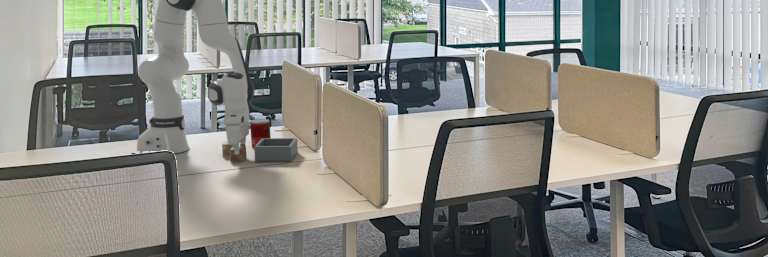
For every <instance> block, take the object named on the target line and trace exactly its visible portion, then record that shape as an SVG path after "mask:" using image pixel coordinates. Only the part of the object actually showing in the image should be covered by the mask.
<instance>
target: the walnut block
mask: <svg viewBox="0 0 768 257" xmlns="http://www.w3.org/2000/svg"><path fill="white" fill-rule="evenodd" d="M239 149H240V154H239V155H235V154H234V149H233V147H232V148H231V149H230V156H229V157H230V158H229V159H230V163H245V161H246V160H247V158H248V157H247V156H248V155H247V146H246V145H245V146H240V145H239Z"/></svg>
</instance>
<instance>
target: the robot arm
mask: <svg viewBox="0 0 768 257" xmlns="http://www.w3.org/2000/svg"><path fill="white" fill-rule="evenodd" d="M190 11H193V12H194V13H195V16H196V21H197V27H198V29H197V30H198V34H199V38H200V40H201V42H202V43H203V44H204V45H206V46H207V47H209V48H211V49H212V50H216V51H220V52H221V53H224V54H226V55H227V57H228V59H229V61H230V64H231V66H232V72H226V73H225V74H223V76H222V77H221V78H220V79H218V80H215V81H213V82H211V83H210V84H209V85H208V87H207V99H208V101H209V102H210V103H211V104H213V105H214V106H224V118H223V125H224V126H225V133H226V139H227V140H226V141H228V143H229V145H233V149H234V154H235V155H239V154H240V149H239V146H246V141H247V137H248V136H249V133H250V125H249V120H250V108H249V104H248V103H249V102H250V101H251V100H252V98H254V94H255V86H254V83H253V80H252V79H251V77H250V75H249V71H248V67H247V64H246V61H245V57H244V54H243V51H242V48H241V45H240V42H239V41H238V39H237V38H236V37H235V36H233V34H232V32H231V31H230V28H229V25H228V24H229V23H228V19H227V18H228V17H227V14H226V9H225V6H224V3H223V1H222V0H159V1H158V5H157V9H156V15H155V22H154V27H153V28H154V30H153V41H155V43H156V45H157V48H158V54H157V55H155V56H151V57H149V58H146V59H145V60H144V61H142V62H141V63H140V65H139V66H138V69H137V70H138V72H137V73H138V76H139V79H140V80H141V81H142V82H143V83H144V84H145V85H146V86H147V88H148V90H149V92H150V96H151V100H152V107H153V108H152V109H153V116H152V117H151V118H150V119H149V120H148V124H150V126H149V127H148V128H147V129H146V130H144V131H143V133H141V134H140V135H139V136H138V137H137V142H136V147H134V148H133V149H132V150H136V151H140V153H142V152H143V151H149V152H150V151H161V150H168V151H172V152H174V153H175V154H179V153H184V152H187V151H188V150H190V146H189V143H188V141H187V135H186V131H185V128H186V122H185V117H184V114H183V104H182V103H183V102H182V96H181V95H180V93H178V92H177V90H176V88H175V85H174V81H176V80H180V79H181V78H183V77H184V76H186V75H187V74H188V72H189V68H190V63H189V61H188V59H187V57H186V56H185V52H184V44H183V43H184V31H185V25H186V24H185V23H186V14H187V12H190Z"/></svg>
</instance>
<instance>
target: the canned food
mask: <svg viewBox="0 0 768 257" xmlns="http://www.w3.org/2000/svg"><path fill="white" fill-rule="evenodd" d="M249 129H250V142H251V147H252V148H253V149H254V146H255V145H256V144H257V143H258V142H259V141H260V140H261V139H262V138H271V123H270V119H267V118H254V119H251V120H250V125H249Z"/></svg>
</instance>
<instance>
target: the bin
mask: <svg viewBox="0 0 768 257" xmlns="http://www.w3.org/2000/svg"><path fill="white" fill-rule="evenodd" d="M253 149H254V162H255V163H293V161H294V159H295V158H296V157H297V155H298V153H299V147H298V137H286V138H285V137H283V138H282V137H274V138H273V137H272V138H262V139H261V140H260V141H259V142H258V143H257V144H256V145H255V146H254V148H253Z"/></svg>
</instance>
